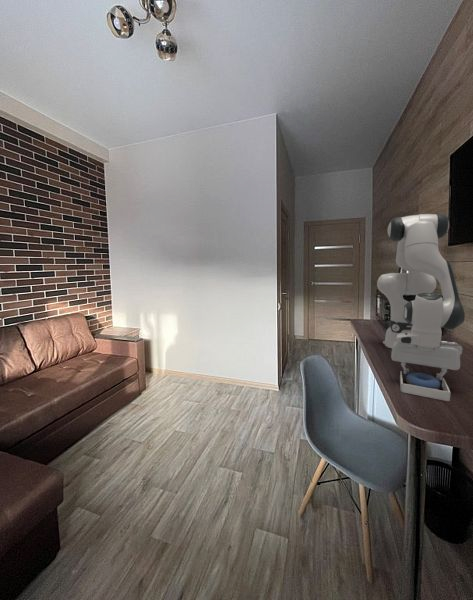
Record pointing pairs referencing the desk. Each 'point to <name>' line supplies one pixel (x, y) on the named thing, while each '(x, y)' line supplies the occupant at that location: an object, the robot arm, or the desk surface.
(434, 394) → the box
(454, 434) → the desk surface
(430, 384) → the doughnut
